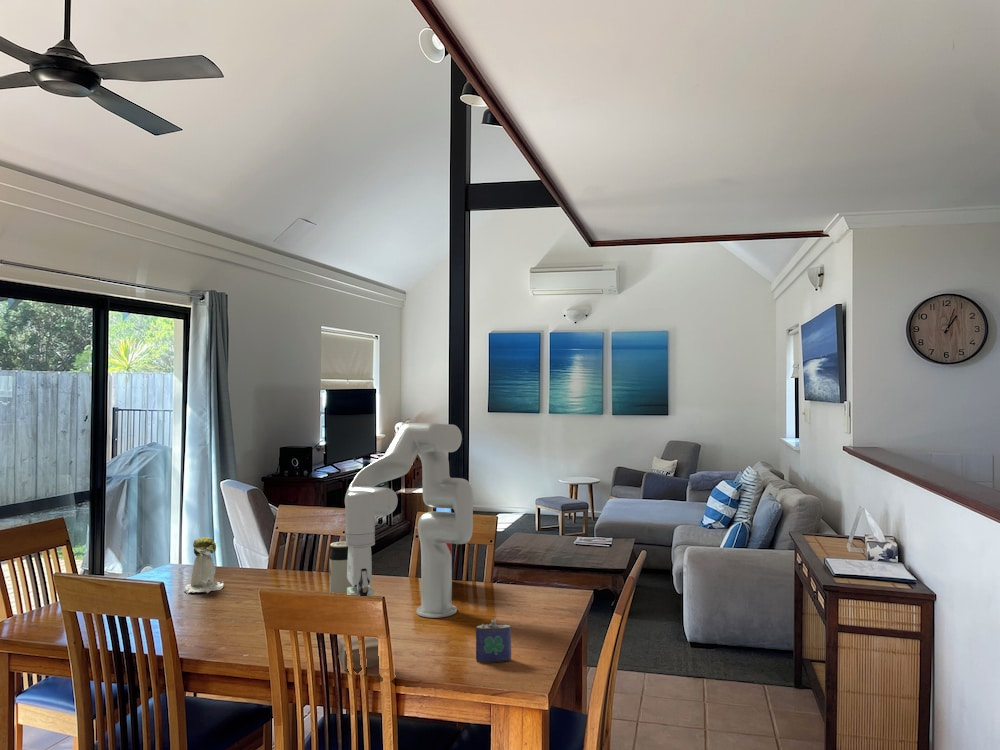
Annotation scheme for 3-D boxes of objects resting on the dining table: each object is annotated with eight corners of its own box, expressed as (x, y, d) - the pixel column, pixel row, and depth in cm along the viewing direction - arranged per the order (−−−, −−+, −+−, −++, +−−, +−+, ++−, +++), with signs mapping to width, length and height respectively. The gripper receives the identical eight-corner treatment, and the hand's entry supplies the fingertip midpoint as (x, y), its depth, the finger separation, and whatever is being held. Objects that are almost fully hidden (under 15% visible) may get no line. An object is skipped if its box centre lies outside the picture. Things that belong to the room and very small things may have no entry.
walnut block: (338, 657, 196) (338, 638, 196) (376, 652, 200) (376, 633, 200) (344, 670, 187) (344, 650, 187) (384, 665, 190) (383, 645, 190)
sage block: (346, 610, 195) (346, 587, 195) (369, 608, 197) (369, 585, 197) (350, 616, 189) (350, 593, 189) (374, 614, 191) (374, 590, 192)
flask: (510, 658, 194) (510, 617, 194) (512, 662, 191) (511, 620, 192) (475, 659, 193) (475, 618, 194) (476, 664, 191) (475, 622, 191)
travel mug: (356, 593, 257) (356, 541, 258) (349, 600, 249) (349, 546, 250) (334, 593, 258) (333, 541, 258) (326, 599, 250) (326, 545, 250)
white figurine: (176, 591, 262) (176, 539, 262) (206, 582, 273) (206, 532, 273) (199, 596, 256) (199, 542, 256) (229, 586, 267) (228, 535, 267)
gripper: (340, 534, 200) (340, 601, 200) (351, 546, 184) (351, 619, 184) (368, 532, 203) (368, 598, 203) (381, 544, 187) (381, 616, 187)
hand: (360, 607), depth 193 cm, fingers closed on sage block, 6 cm apart
